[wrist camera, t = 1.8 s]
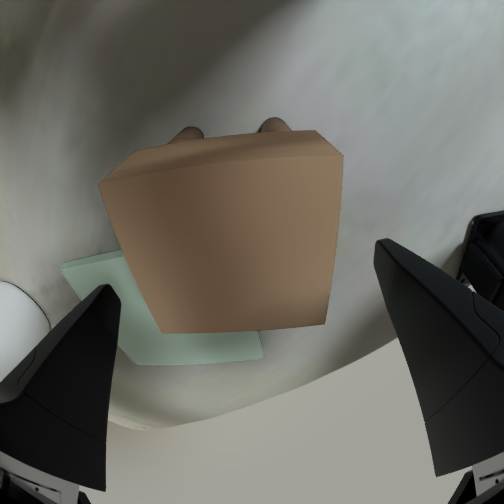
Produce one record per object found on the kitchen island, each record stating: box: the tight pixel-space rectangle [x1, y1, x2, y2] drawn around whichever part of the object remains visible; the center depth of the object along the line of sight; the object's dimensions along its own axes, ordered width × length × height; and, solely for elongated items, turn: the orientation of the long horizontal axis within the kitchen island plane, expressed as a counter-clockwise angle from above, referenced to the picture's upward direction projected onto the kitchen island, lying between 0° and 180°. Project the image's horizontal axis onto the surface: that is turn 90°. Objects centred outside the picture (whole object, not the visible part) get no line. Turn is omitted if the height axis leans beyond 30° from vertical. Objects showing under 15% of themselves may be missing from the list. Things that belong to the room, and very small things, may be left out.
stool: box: [98, 117, 344, 334], centre depth 10 cm, size 6×6×7 cm
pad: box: [60, 250, 264, 365], centre depth 18 cm, size 12×12×1 cm
